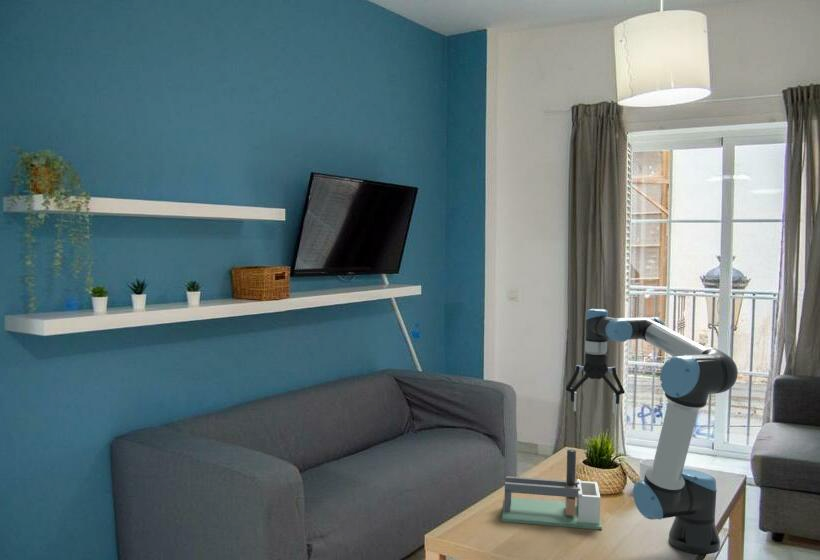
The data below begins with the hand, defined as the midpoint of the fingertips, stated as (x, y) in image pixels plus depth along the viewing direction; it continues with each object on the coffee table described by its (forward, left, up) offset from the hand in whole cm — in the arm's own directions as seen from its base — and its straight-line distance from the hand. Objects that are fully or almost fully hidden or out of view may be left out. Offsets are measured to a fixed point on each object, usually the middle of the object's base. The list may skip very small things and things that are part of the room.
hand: (594, 411), depth 253 cm
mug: (+25, -25, -35) cm, 50 cm away
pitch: (-10, +15, -35) cm, 39 cm away
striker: (-10, +8, -33) cm, 35 cm away
